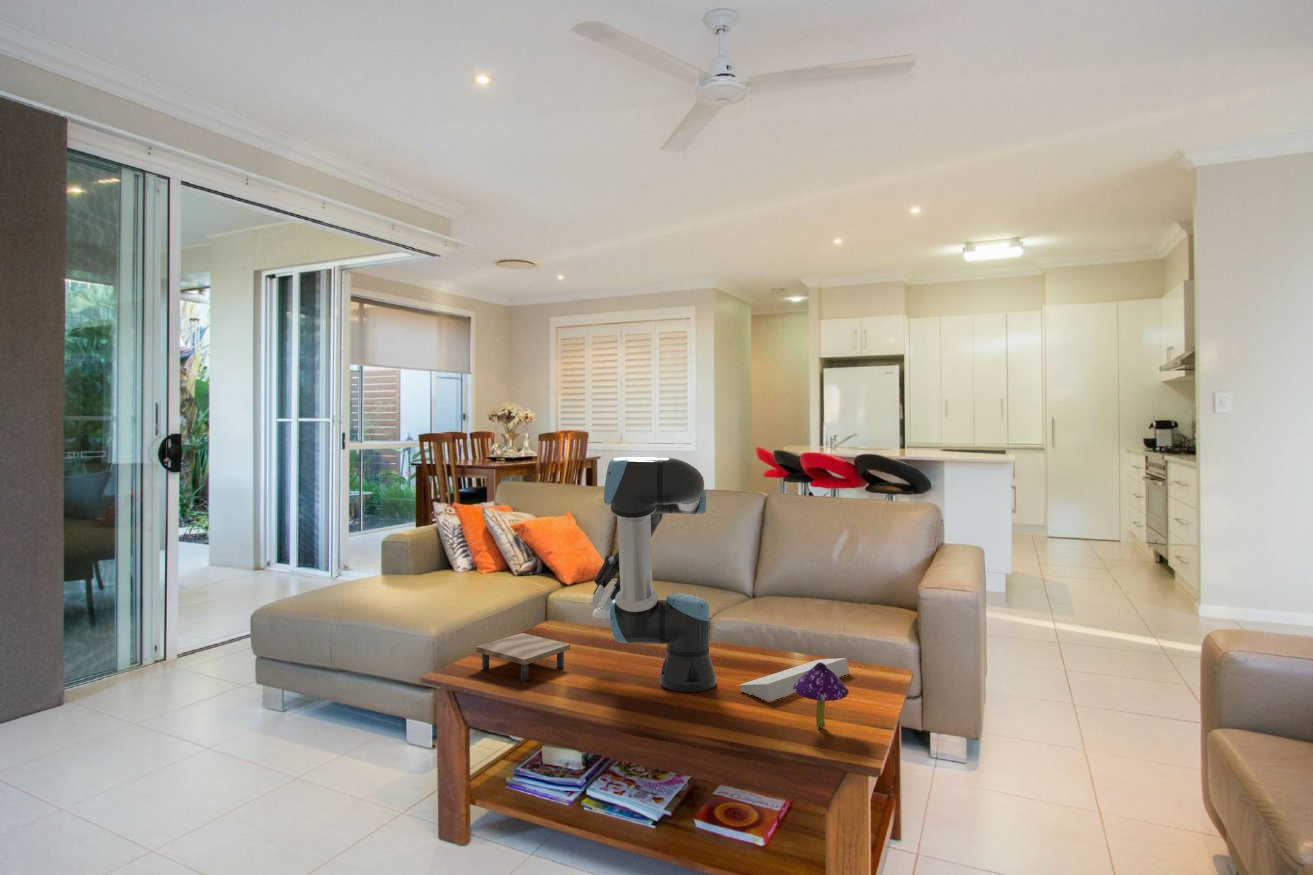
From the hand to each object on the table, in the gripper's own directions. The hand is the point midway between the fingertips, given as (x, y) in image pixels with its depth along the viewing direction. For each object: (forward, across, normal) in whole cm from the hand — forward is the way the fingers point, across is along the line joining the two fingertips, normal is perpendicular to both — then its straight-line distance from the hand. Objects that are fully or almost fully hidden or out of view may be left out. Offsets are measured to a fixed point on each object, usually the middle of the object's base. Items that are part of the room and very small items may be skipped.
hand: (598, 607), depth 200 cm
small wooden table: (+21, +18, -4) cm, 28 cm away
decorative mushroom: (+14, -68, -12) cm, 70 cm away
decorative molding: (-4, -50, -30) cm, 59 cm away
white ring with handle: (0, +1, -5) cm, 5 cm away
